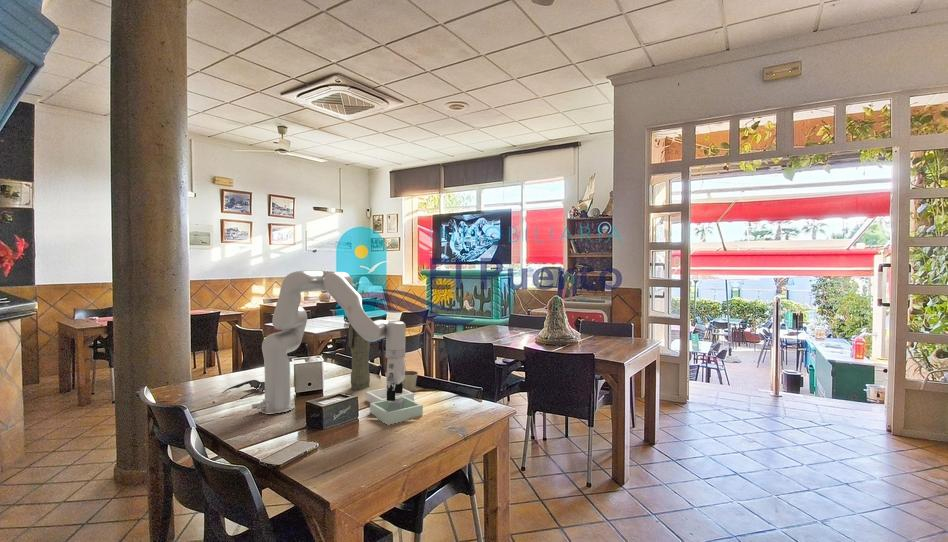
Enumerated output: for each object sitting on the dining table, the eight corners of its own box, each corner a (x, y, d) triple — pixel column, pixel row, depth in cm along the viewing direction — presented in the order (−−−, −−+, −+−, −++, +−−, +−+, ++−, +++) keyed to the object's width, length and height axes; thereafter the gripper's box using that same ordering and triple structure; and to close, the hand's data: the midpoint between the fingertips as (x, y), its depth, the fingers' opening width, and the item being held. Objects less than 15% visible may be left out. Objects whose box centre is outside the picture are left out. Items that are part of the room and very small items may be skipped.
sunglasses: (272, 393, 202) (271, 383, 201) (236, 407, 188) (235, 396, 187) (251, 388, 210) (250, 378, 210) (216, 401, 196) (214, 390, 196)
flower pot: (420, 388, 208) (420, 370, 207) (415, 394, 198) (415, 375, 198) (401, 388, 208) (401, 370, 208) (395, 394, 199) (395, 375, 199)
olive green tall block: (375, 386, 212) (375, 314, 212) (357, 392, 202) (357, 317, 202) (363, 383, 217) (362, 313, 217) (344, 389, 207) (344, 316, 207)
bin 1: (381, 411, 175) (381, 400, 175) (366, 402, 187) (365, 391, 187) (414, 403, 184) (414, 393, 184) (397, 395, 196) (397, 385, 196)
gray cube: (400, 416, 167) (400, 403, 167) (387, 415, 168) (387, 402, 168) (404, 411, 172) (403, 399, 172) (391, 411, 173) (391, 398, 173)
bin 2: (387, 425, 159) (387, 413, 159) (370, 414, 171) (370, 403, 171) (422, 416, 169) (422, 405, 168) (403, 407, 180) (403, 396, 180)
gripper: (398, 358, 161) (397, 404, 161) (410, 349, 178) (409, 391, 178) (378, 357, 161) (378, 403, 162) (392, 348, 179) (392, 390, 179)
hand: (394, 396), depth 170 cm, fingers open, 9 cm apart
